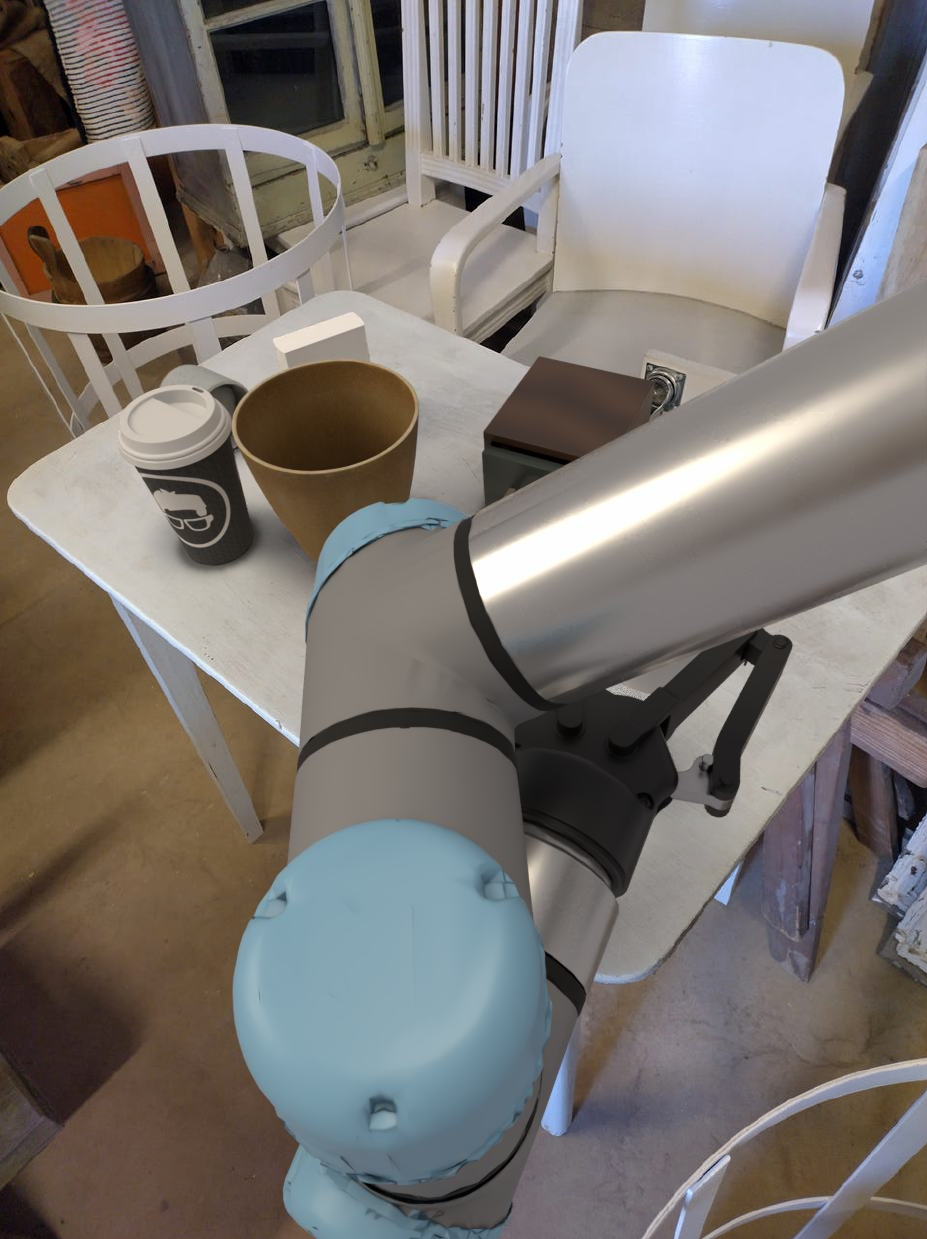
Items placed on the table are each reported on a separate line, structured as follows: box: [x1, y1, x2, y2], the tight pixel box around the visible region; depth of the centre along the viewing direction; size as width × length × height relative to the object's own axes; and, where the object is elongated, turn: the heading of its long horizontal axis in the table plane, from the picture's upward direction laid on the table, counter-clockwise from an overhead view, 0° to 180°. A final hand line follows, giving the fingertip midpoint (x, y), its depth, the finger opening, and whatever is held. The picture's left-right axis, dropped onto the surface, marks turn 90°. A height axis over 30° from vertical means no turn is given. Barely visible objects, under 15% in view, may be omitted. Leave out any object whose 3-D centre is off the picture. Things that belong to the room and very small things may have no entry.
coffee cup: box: [117, 385, 254, 566], centre depth 73 cm, size 10×10×15 cm
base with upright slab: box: [272, 311, 371, 372], centre depth 84 cm, size 9×9×12 cm
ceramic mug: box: [158, 364, 250, 450], centre depth 86 cm, size 11×8×8 cm
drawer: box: [481, 443, 572, 508], centre depth 75 cm, size 16×10×8 cm, turn 154°
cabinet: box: [482, 355, 656, 462], centre depth 77 cm, size 13×12×10 cm
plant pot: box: [232, 359, 420, 565], centre depth 71 cm, size 15×15×16 cm
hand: (692, 526), depth 48 cm, fingers closed on can, 7 cm apart
